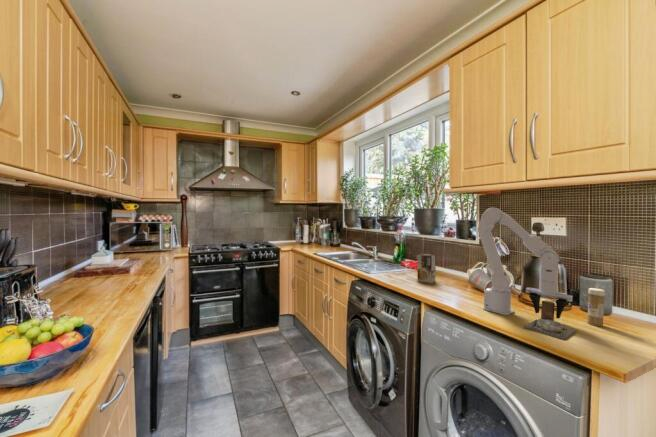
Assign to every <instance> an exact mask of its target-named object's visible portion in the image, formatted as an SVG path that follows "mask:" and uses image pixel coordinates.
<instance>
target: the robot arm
mask: <svg viewBox="0 0 656 437" xmlns="http://www.w3.org/2000/svg"><path fill="white" fill-rule="evenodd" d="M496 224H499V225H503V226H506V227H508V228H509V229H510V230H511V231H512V232H514V233H515V234H516V235H517V236H518V237H520V238H521V239H522V245H523V246H524V247H526V248H527V249H528V250H529V251H530V252H531V253H532V254H534V255H535V257H539V260H540V267H539V280H538V281H539V284H538V287H539V288H535V287H526V288H525V293H527V294H529V295H528V297H529V299H530V300H531V303H532V304H533V309H534V314H539V313H540V309H541V308H540V301H541V296H543V297H548V298H553V299H556V300H555V305H556V313H555V314H556V315H555V317H556V319H559V320H560V318H561V316H562V312H563V310H564V308H565V306H566V305H567V304H568V302H569V303H570V302H573V295H569V294H566V293H562V292H558V290H559V269H558V268H559V263H560V257H559V254H558V253H557V252H556V251H555V249H553V247H552V245H548V244H547V243H545V242H544V241H543V240H542V239H543V238H542V237H541V236H540V235H538V236H537V234H532V233H531V234H530V233H529V232H528V231H527V230H526V229H524V228H523V226H521V225H520V224H519V223H518V222H517V221H516V220H515V219H514V218H513V217H512V216H510V215H509V214H508V213H506V212H504V211H502V210H501V209H500V208H498V207H489V208H487V209H486V210H485V211H483V213H482V214H481V217H480V221H479V223H478V227H477V232H478V235H479V238H480V241H481V244H482V248H483V251H484V253H485V256H486V259H487V263H488V266H489V268H490V275H491V287H487V288H485V290H484V292H483V293H484V294H483V308H482V309H483V310H485V311H489V312H491V313H492V312H493V313H496V314H499V315H504V316H509V315H511V314H514V313H516V312H515V310H512V308H511V307H512V306H511V304H512V290H511V289H510V285H511V282H512V279H511V277H510V276H509V275H508V274H507V273H506V272H507V271H506V270H505V268H504V265H503V264H502V263H503V262H502V261H501V257H500V253H499V251H498V248H497V244H496V242H495V239H494V236H493V233H492V230H493V228H495V225H496Z"/></svg>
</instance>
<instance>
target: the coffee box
mask: <svg viewBox="0 0 656 437" xmlns="http://www.w3.org/2000/svg"><path fill="white" fill-rule="evenodd" d="M436 256H437V255H436V254H428V253H426V254H425V253H420V254H417V279H416V280H417V282H422V283H430V284H433V283H435V282H436V278H437V277H436V276H437V275H436V273H437V270H436V268H437V262H436V260H437V258H436Z"/></svg>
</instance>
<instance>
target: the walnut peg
mask: <svg viewBox="0 0 656 437" xmlns="http://www.w3.org/2000/svg"><path fill="white" fill-rule="evenodd" d="M555 305H556V302H553V301H550V300H541V308H540V309H541V312H540V319H547V320H552V321H555Z"/></svg>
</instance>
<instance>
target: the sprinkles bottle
mask: <svg viewBox="0 0 656 437" xmlns="http://www.w3.org/2000/svg"><path fill="white" fill-rule="evenodd" d="M587 290H588V291H587V294H588V303H587V305H588V306H587V321H586V323H588V324H589V325H590V326H594V327H603V326H604V316H605V315H604V314H605V313H604V312H605V310H604V309H605V295H606V292H605V289H602V288H597V287H596V288H595V287H590V288H588V289H587Z"/></svg>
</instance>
